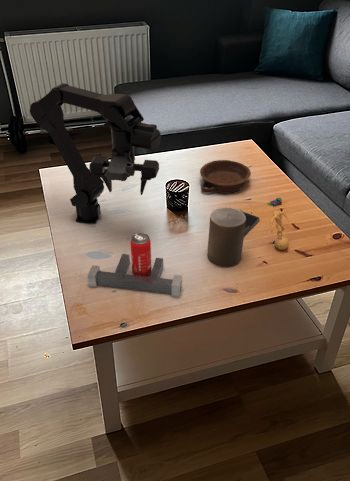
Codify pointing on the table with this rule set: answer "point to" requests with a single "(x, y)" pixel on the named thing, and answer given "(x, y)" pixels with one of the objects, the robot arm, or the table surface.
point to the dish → (224, 176)
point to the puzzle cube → (275, 202)
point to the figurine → (279, 231)
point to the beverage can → (141, 254)
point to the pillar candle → (226, 236)
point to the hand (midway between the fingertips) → (126, 192)
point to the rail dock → (135, 279)
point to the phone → (250, 222)
